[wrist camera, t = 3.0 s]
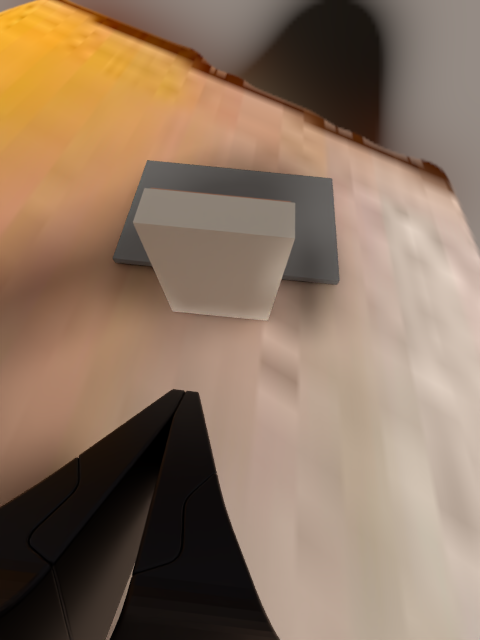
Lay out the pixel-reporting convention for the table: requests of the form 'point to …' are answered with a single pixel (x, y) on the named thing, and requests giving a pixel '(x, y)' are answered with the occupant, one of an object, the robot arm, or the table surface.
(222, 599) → the robot arm
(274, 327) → the table surface
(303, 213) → the mat
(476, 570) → the table surface
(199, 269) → the glazed tile
